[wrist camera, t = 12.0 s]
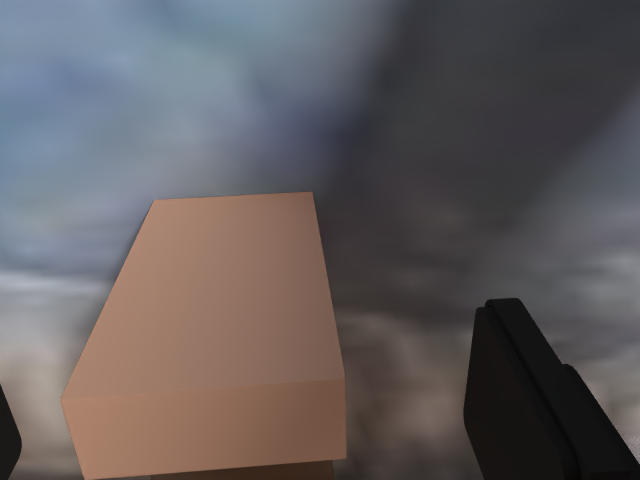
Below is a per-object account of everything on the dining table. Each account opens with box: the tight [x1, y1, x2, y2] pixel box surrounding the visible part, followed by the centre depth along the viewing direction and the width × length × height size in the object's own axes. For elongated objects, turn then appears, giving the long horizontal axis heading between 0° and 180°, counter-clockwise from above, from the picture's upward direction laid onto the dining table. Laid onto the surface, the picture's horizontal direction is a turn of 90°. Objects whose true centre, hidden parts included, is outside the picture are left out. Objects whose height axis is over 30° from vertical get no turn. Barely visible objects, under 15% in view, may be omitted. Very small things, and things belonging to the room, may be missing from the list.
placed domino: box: [60, 191, 346, 480], centre depth 14 cm, size 2×5×9 cm, turn 91°
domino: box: [151, 460, 334, 480], centre depth 17 cm, size 2×5×9 cm, turn 92°
